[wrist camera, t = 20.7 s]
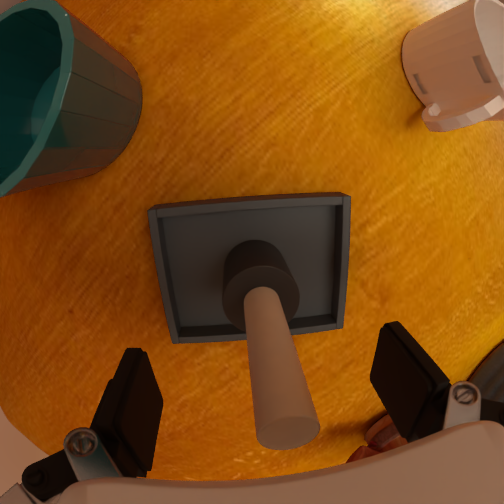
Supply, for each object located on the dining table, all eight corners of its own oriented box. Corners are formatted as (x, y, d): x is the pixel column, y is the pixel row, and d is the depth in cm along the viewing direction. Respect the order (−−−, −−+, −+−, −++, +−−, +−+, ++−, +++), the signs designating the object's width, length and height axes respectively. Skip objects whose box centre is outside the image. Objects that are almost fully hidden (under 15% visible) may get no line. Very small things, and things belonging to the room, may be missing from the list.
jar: (36, 188, 18) (-53, 216, 8) (33, 72, 15) (-47, 51, 5) (146, 165, 18) (74, 177, 9) (142, 35, 15) (87, -33, 6)
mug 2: (432, 15, 15) (496, -15, 6) (484, 93, 17) (555, 90, 9) (357, 69, 17) (430, 28, 8) (424, 161, 19) (510, 174, 11)
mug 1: (428, 398, 29) (479, 477, 15) (398, 436, 32) (435, 512, 17) (338, 403, 27) (382, 519, 13) (310, 444, 29) (336, 545, 15)
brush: (226, 298, 21) (226, 470, 8) (221, 241, 20) (206, 396, 7) (285, 293, 22) (344, 454, 8) (284, 237, 20) (368, 375, 7)
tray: (176, 329, 23) (172, 343, 21) (154, 204, 19) (146, 210, 17) (335, 315, 23) (343, 328, 21) (340, 192, 20) (351, 195, 18)
